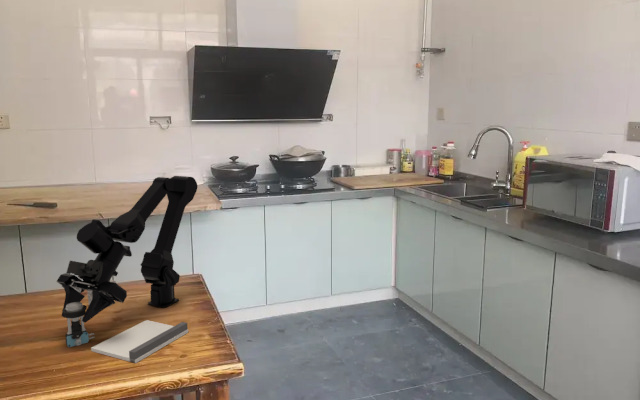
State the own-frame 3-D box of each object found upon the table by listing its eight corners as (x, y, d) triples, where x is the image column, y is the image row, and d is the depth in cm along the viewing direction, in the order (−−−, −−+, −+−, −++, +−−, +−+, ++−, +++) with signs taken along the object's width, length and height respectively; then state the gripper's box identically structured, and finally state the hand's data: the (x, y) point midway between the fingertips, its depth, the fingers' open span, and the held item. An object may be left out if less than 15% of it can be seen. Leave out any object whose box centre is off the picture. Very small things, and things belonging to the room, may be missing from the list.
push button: (92, 335, 129) (89, 297, 128) (97, 343, 125) (94, 304, 123) (63, 342, 125) (59, 303, 124) (67, 350, 121) (64, 310, 120)
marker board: (146, 322, 137) (146, 313, 137) (188, 332, 131) (187, 323, 131) (91, 350, 121) (90, 341, 121) (135, 363, 115) (135, 352, 115)
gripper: (59, 242, 129) (22, 298, 121) (114, 250, 121) (78, 311, 113) (88, 264, 137) (55, 318, 129) (141, 273, 129) (109, 331, 121)
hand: (73, 319), depth 123 cm, fingers open, 7 cm apart
